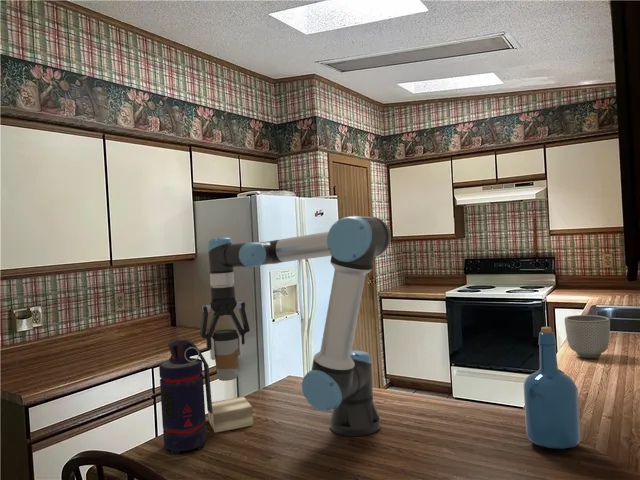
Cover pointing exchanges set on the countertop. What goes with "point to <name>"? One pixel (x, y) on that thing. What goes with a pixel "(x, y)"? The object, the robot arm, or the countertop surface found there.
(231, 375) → the coffee cup
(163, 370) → the grenade
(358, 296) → the robot arm
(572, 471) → the countertop surface
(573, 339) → the planter
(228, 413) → the maple block
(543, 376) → the wine bottle
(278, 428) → the countertop surface
